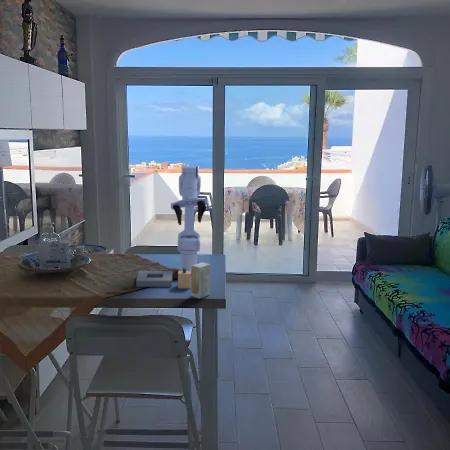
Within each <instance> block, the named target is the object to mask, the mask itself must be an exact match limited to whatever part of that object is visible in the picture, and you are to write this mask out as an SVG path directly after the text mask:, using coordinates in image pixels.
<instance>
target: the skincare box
mask: <svg viewBox="0 0 450 450" xmlns="http://www.w3.org/2000/svg"><path fill="white" fill-rule="evenodd" d="M190 291H191V293H190V294H191V295H190V296H191V297H193V298H196V299H203V298H205V297H207V296H210V295H211V263H206V262H204V261H203V262H202V261H201V262H197V264H195V265H192V266H191V288H190Z"/></svg>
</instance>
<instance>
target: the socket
mask: <svg viewBox="0 0 450 450" xmlns="http://www.w3.org/2000/svg"><path fill="white" fill-rule="evenodd" d="M136 277H137V278H136V280H135V281H136V283H135V284H136V288H137V287H139V288H142V287H143V288H144V287H145V288H148V287H149V288H153V287H155V288H159V287H163V288H166V287H167V288H169V287H172V286H173V270H139V271H138V273H137V276H136Z"/></svg>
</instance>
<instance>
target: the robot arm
mask: <svg viewBox="0 0 450 450" xmlns="http://www.w3.org/2000/svg"><path fill="white" fill-rule="evenodd" d="M201 179H202V178H201V176H200V174H199V166H196V165H194V166H193V165H184V167H181V174H180V175H178V194H179V196H180V197H182V198H181V200H177V201H175V202H171V203H170V209H171V210H172V211H173V210H174V213H175V216H176V219H177V224H178V225H179V226H182V216H183V209H182V208H184V226H183V227H184V230H182V231H181V232H179V233H178V237H177V251H178V253H179V252H180V259H179V260H180V265H179V270H178V271H183V268H186V271H191V266H192V265H195V264H198V262H197V261H198V252H200V251H201V237H200V233H199V232H197V231H196V230H195V207H197V221H198V223H201V222H202V218H203V215H204V213H205V212H206V210H207V206H209V204H210V203H209V199H208V197H206V198H203V197H202V198H201V197H200V198H199V197H198V196H200V194H201V185H202V184H201V182H202V181H201Z"/></svg>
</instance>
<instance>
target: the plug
mask: <svg viewBox="0 0 450 450" xmlns="http://www.w3.org/2000/svg"><path fill="white" fill-rule="evenodd" d="M177 275H178V276H177V280H178V281H177V288H178V289H191V271H186V268H183V271H179V270H178V271H177Z"/></svg>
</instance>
